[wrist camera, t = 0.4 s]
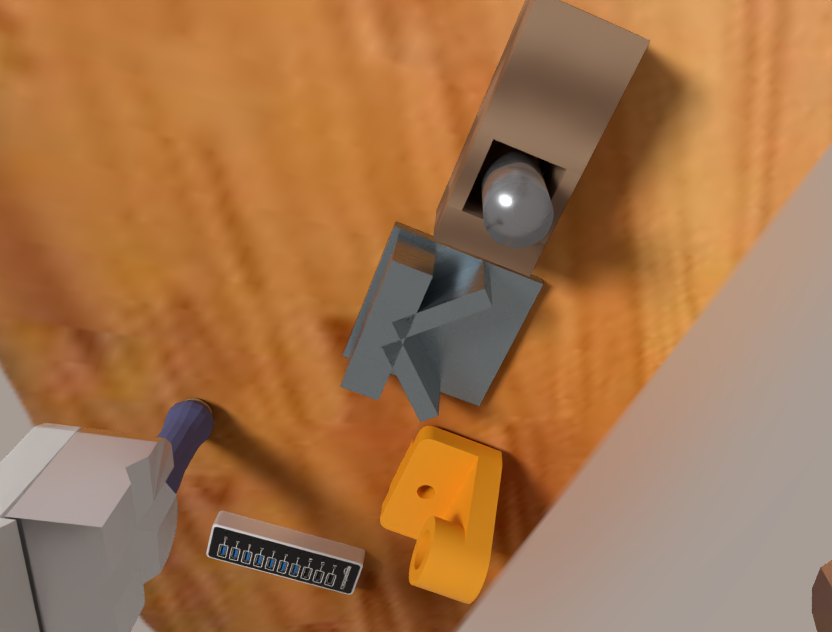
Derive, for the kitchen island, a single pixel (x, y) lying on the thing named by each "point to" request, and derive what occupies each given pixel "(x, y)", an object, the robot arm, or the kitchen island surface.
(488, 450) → the bracket
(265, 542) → the multiport hub
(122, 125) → the kitchen island surface
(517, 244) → the steel axle
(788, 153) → the kitchen island surface
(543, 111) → the walnut beam
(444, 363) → the V-block
